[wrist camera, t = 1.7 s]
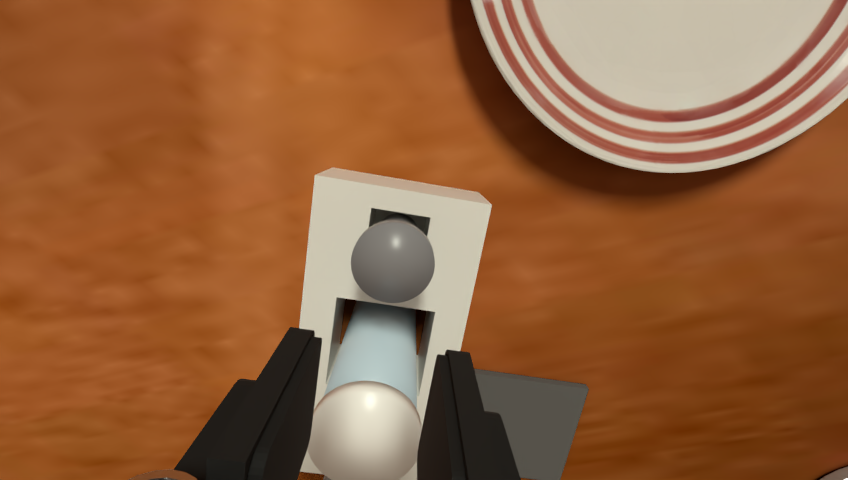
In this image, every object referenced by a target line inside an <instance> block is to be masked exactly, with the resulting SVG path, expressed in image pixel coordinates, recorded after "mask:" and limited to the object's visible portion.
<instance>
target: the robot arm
mask: <svg viewBox="0 0 848 480" xmlns="http://www.w3.org/2000/svg"><path fill="white" fill-rule="evenodd" d="M321 346H322V338H320V337H315V332H314V330H307V329H300V328H293V327H290V328H289V330H288V331H287V333H286V334H285V336H284V338H283V339H282V341H281V342H280V344H279V345H278V347H277V349H276V350H275V352H274V353H273V355H272V356H271V358H270V360H269V361H268V363H267V364H266V366H265V367H264V369H263V371H262V372H261V374H260V375H259V377H258V378H257V380H256V381H255V380H247V379H240V380H238V381H237V382H236V383H235V384H234V386H233V387H232V389H231V390H230V391H229V393H228V394H227V396H226V397H225V398H224V400H223V401H222V403H221V404H220V405H219V407H218V408H217V410H216V411H215V412H214V414H213V415H212V417H211V418H210V419H209V421H208V422H207V424H206V425H205V426H204V428H203V429H202V431H201V432H200V433H199V435H198V436H197V438H196V439H195V441H194V442H193V443H192V445H191V446H190V448H189V449H188V450H187V452H186V453H185V455H184V456H183V457H182V459H181V460H180V462H179V463H178V464H177V466H176V467H175V469H174V470H156V471H152V472H148V473H144V474H141V475H137V476H135V477H133V478H131V479H129V480H297V478H298V475H299V472H300V469H301V466H302V463H303V460H304V458H305V455H306V452H307V448H308V445H309V441H310V436H311V430H312V421H313V413H314V405H315V396H316V388H317V380H318V371H319V363H320V355H321ZM417 480H521V479H520V476H519V472H518V469H517V466H516V463H515V459H514V456H513V453H512V450H511V446H510V443H509V440H508V437H507V433H506V430H505V427H504V424H503V420H502V418H501V416H500V414H499V413H496V412H488V411H484V407H483V403H482V399H481V395H480V391H479V387H478V383H477V379H476V375H475V372H474V368H473V364H472V360H471V356H470V353H468V352H462V351H455V350H448V349H447V350H446V352H445V355H440V354H438V355H437V357H436V361H435V366H434V371H433V376H432V381H431V386H430V391H429V396H428V401H427V406H426V411H425V416H424V421H423V426H422V431H421V436H420V441H419V446H418V453H417ZM820 480H848V466H847V467H844V468H841V469H838V470H836V471H834V472H832V473H830V474H828V475H826V476H824V477H823V478H821V479H820Z"/></svg>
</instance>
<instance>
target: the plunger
mask: <svg viewBox="0 0 848 480" xmlns="http://www.w3.org/2000/svg"><path fill="white" fill-rule="evenodd" d="M434 268H435V259H434V253H433V248H432V245H431V243H430V241H429V239H428V238H427V236H426V235H425V234H424V233H423V232H422V231H421V230H420V229H419V228H418V227H417V225H416V223H415V221H414V220H413V219H412V218H410V217H409V216H407V215H405V214H401V213H394V214H390V215H388V216H386V217H385V218H383V219H382V220H381V222H378V223H376V224H374V225H372V226H370V227H369V228H368V229H366V230H365V231H364V232H363V233H362V234H361V236H360V237H359V239H358V241H357V243H356V245H355V246H354V249H353V252H352V256H351V270H352V274H353V277H354V279H355V281H356V283H357V284H358V286H359V287H360V288H361V289H362V291H363V292H365V293H366V294H367V295H369V296H370V297H372V298H374V299H376V300H378V301H381V302H386V303H401V302H405V301H408V300H411V299H413V298H415V297H416V296H418V295H419V294H421V293H422V292H423V291H424V290H425V289H426V287H427V286H428V285H429V283H430V281H431V279H432V277H433V274H434Z"/></svg>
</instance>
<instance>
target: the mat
mask: <svg viewBox="0 0 848 480" xmlns="http://www.w3.org/2000/svg"><path fill="white" fill-rule="evenodd" d="M474 372H475V375H476V379H477V383H478V387H479V391H480V395H481V399H482V403H483V407H484V411H488V412H496V413H499V414H500V416H501V418H502V420H503V424H504V427H505V430H506V433H507V437H508V440H509V443H510V446H511V450H512V453H513V456H514V459H515V463H516V466H517V469H518V472H519V476H520V478H529V479H537V480H560V478H561V475H562V472H563V469H564V466H565V462H566V459H567V456H568V453H569V450H570V447H571V444H572V440H573V437H574V434H575V431H576V428H577V425H578V421H579V418H580V415H581V412H582V409H583V406H584V402H585V399H586V396H587V393H588V390H589V389H588V387H587V386H586V384H579V383H572V382H565V381H558V380H551V379H543V378H536V377H529V376H522V375H515V374H508V373H500V372H493V371H486V370H479V369H474Z"/></svg>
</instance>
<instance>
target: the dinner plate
mask: <svg viewBox="0 0 848 480" xmlns="http://www.w3.org/2000/svg"><path fill="white" fill-rule="evenodd" d="M470 1H471V4H472V8H473V11H474V15H475V18H476V21H477V24H478V27H479V29H480V32H481V35H482V37H483V40H484V42H485V44H486V46H487V48H488V51H489V53H490V55H491V57H492V59H493V61H494V63H495V64H496V66H497V68H498V70H499V71H500V73H501V74H502V76H503V77H504V79H505V81H506V82H507V84H508V85H509V86H510V88H511V89H512V90H513V92H514V93H515V94H516V96H517V97H518V98H519V99H520V100H521V102H522V103H523V104H524V105H525V106H526V107H527V108H528V110H529V111H530V112H531V113H532V114H533V115H534V116H535V117H536V118H537V119H538V120H540V121H541V122H542V123H543V124H544V125H545V126H547V127H548V128H549V129H550V130H551V131H553V132H554V133H555V134H556V135H558V136H559V137H560V138H562V139H563V140H565V141H566V142H568V143H569V144H571V145H573V146H574V147H576V148H578V149H580V150H582V151H584V152H585V153H587V154H589V155H591V156H594V157H596V158H599V159H601V160H603V161H606V162H609V163H612V164H615V165H618V166H622V167H626V168H630V169H635V170H642V171H648V172H658V173H686V172H698V171H706V170H711V169H717V168H721V167H725V166H729V165H732V164H735V163H739V162H742V161H745V160H748V159H751V158H754V157H756V156H759V155H761V154H764V153H766V152H768V151H771V150H773V149H775V148H777V147H779V146H781V145H783V144H784V143H786V142H788V141H789V140H791V139H793V138H795V137H796V136H798V135H800V134H802V133H803V132H804V131H806V130H807V129H809V128H810V127H812V126H813V125H815V124H816V123H818V122H819V121H820V120H822V119H823V118H824V117H826V116H827V115H828V114H830V113H831V112H832V111H833V110H835V109H836V108H837V107H838V106H839V105H840V104H841V103H843V102H844V101H845V100H846V99H847V98H848V0H470Z"/></svg>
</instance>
